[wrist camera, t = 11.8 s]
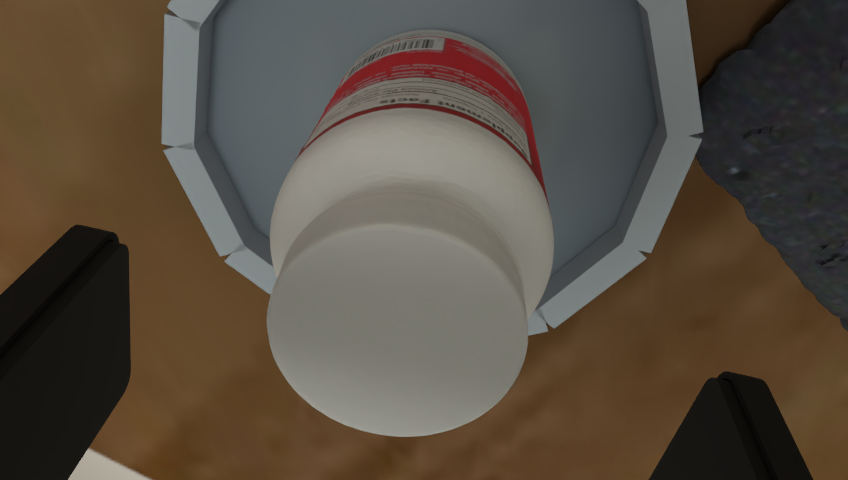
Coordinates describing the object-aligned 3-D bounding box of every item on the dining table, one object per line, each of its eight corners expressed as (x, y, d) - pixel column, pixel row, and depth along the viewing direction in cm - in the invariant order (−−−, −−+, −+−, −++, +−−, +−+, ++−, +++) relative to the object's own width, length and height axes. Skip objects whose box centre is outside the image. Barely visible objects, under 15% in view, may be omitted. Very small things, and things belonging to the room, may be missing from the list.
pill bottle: (457, 242, 24) (443, 509, 14) (301, 149, 22) (169, 374, 13) (571, 96, 21) (650, 307, 11) (399, -20, 20) (326, 108, 10)
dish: (769, -89, 19) (805, -81, 17) (583, 348, 27) (591, 390, 25) (200, -232, 18) (166, -241, 16) (180, 262, 26) (155, 297, 24)
